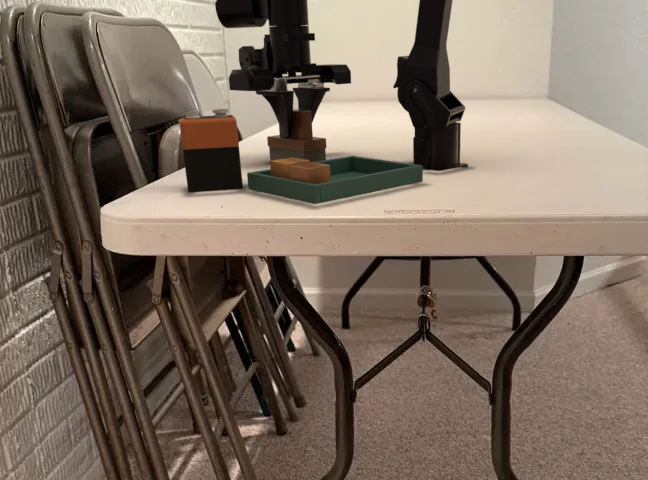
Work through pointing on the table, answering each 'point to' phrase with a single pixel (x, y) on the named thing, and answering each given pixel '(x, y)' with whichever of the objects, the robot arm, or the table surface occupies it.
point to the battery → (211, 151)
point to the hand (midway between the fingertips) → (296, 137)
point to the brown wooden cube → (284, 166)
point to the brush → (298, 140)
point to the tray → (340, 179)
